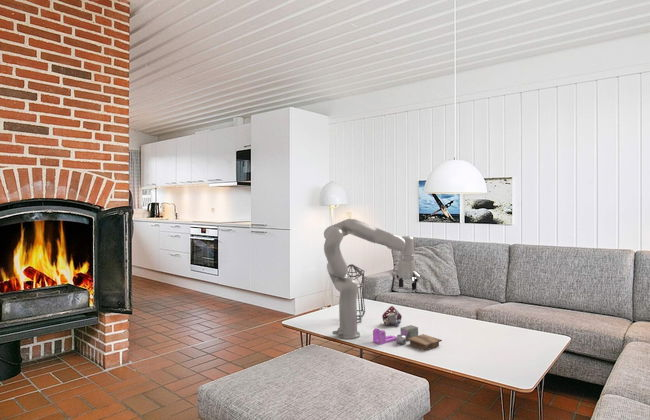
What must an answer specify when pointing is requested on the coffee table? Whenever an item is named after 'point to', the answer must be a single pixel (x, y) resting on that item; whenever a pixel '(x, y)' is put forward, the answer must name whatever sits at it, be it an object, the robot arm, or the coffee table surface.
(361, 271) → the geometric lantern
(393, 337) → the bracket
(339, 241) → the robot arm
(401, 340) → the knob
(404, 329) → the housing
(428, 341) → the stand
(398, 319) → the brake caliper
